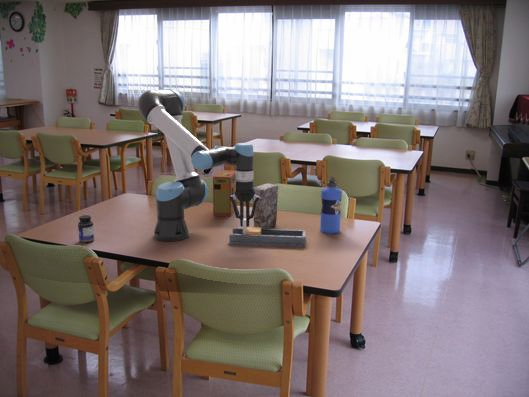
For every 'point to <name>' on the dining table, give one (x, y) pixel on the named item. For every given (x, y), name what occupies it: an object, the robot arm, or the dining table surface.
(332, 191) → the water bottle
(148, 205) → the dining table surface
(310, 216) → the dining table surface
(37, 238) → the dining table surface
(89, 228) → the pill bottle
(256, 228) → the block
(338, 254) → the dining table surface
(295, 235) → the chute
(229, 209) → the box
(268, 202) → the stone block
